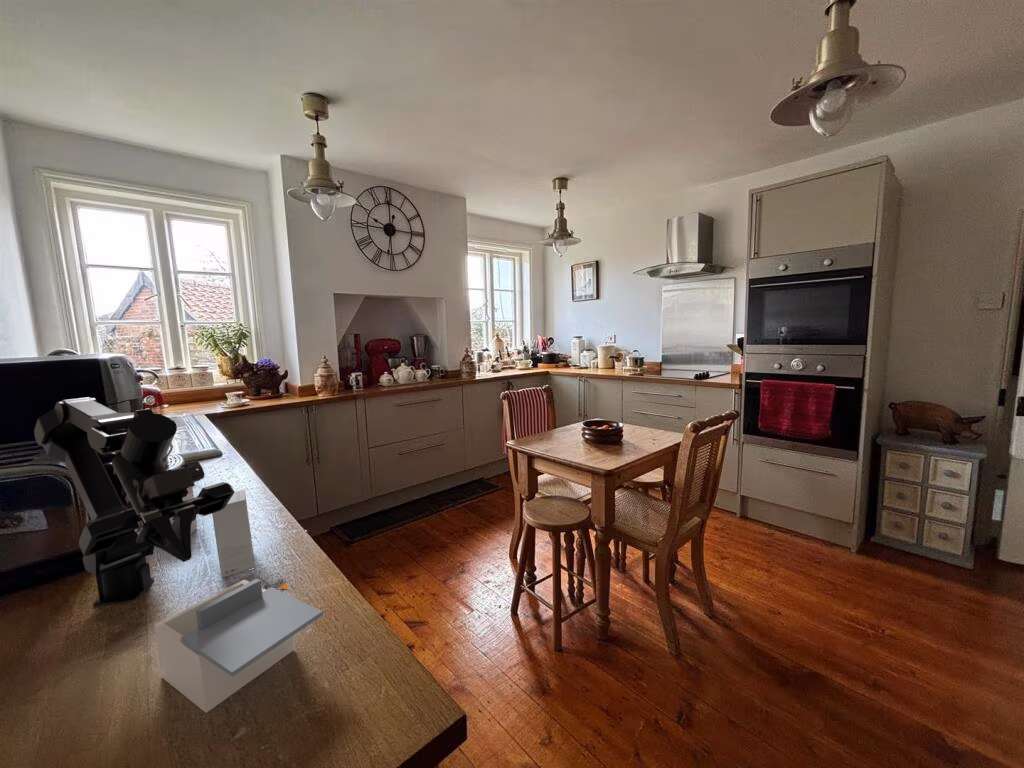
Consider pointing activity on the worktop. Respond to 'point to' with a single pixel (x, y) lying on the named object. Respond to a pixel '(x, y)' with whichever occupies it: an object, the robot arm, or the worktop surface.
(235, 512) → the skincare box
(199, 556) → the worktop surface
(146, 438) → the robot arm
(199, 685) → the mailer box
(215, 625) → the lid
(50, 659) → the worktop surface
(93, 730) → the worktop surface
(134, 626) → the worktop surface
